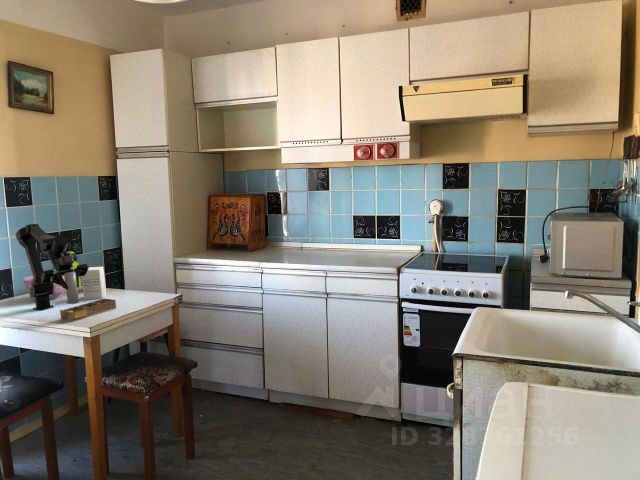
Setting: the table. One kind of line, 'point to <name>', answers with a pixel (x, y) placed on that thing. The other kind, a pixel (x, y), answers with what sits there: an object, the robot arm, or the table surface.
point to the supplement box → (94, 283)
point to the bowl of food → (56, 288)
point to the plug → (71, 287)
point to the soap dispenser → (75, 267)
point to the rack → (87, 309)
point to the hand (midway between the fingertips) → (73, 288)
